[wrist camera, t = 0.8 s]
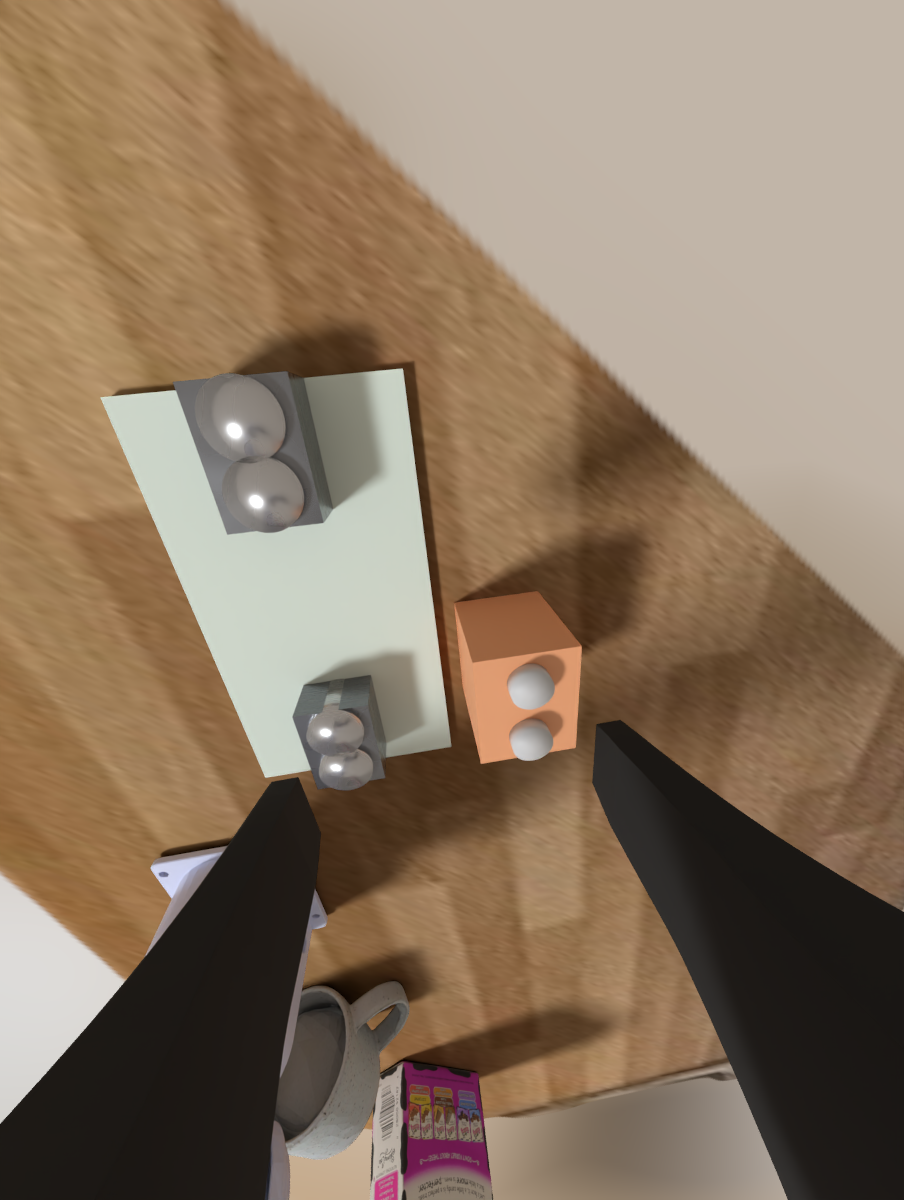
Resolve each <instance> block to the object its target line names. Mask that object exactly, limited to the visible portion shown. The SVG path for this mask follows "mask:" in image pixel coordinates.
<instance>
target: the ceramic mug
mask: <svg viewBox="0 0 904 1200" xmlns="http://www.w3.org/2000/svg"><path fill="white" fill-rule="evenodd" d="M394 1004H396V1005H395V1007H394V1008H393V1009H392V1011H391V1012H390V1013H389V1014H388V1016H387V1017H386V1018H385V1019H384V1020H383V1021H382V1022H381V1023H380V1024H379V1025H378V1026H377V1027H376V1028H375V1029H374V1030H371V1029H370V1027H369V1026H368V1024H367V1023H366V1022H367V1021H369V1020H370V1019H371V1018H373V1017H374V1016H375V1015H376V1014H377V1013H379V1012H381V1011H382V1010H384V1009H386V1008H388V1007H389V1006H391V1005H394ZM408 1015H409V1003H408V1000H407V997H406V994H405V991H404V989H403V987H402V985H401V984H400V983H399V982H396V981H390V982H386V983H382V984H380V985H378V986H376V987H374V988H373V989H371V990H370V991H368V992H367V993H365V994H364V995H363V996H361V997H360V998H359V999H357V1000H356V1001H355V1002H354V1003H353V1004H351V1005H350V1004H349V1003H348V1002H347V1001H346V1000H345V999H344V997H343V996H341V995H340V994H339V993H338V992H337V991H335V990H334V989H332V988H330V987H327V986H313V987H310V988H307V989H304V990H302V993H301V999H300V1004H299V1010H298V1016H297V1022H296V1028H295V1034H294V1040H293V1045H292V1049H291V1052H290V1056H289V1059H288V1062H287V1064H286V1066H285V1069H284V1071H283V1074H282V1076H281V1078H280V1079H279V1086H278V1094H277V1102H276V1109H275V1117H274V1121H276V1122H278V1123H279V1124H280V1126H281V1127H282V1130H283V1134H284V1138H285V1144H286V1147H287V1151H288V1155H293V1156H299V1157H305V1158H310V1159H327V1158H329V1157H332V1156H334V1155H336V1154H338V1153H340V1152H342V1151H344V1150H345V1149H347V1147H349V1146H350V1145H351V1144H352V1143H353V1141H355V1140H356V1138H357V1137H358V1136H359V1135H360V1133H361V1132H362V1130H363V1129H364V1127H365V1125H366V1123H367V1121H368V1119H369V1117H370V1115H371V1113H372V1110H373V1108H374V1104H375V1101H376V1097H377V1092H378V1087H379V1080H380V1058H379V1055H380V1052H381V1051H382V1050H383V1049H384V1048H385V1047H386V1046H387V1045H388V1044H389V1043H390V1042H391V1041H392V1039H394V1038H395V1037H396V1035H397V1034H398V1033H399V1032H400V1030H401V1029H402V1028H403V1026H404V1024H405V1022H406V1020H407V1018H408Z"/></svg>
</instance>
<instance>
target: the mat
mask: <svg viewBox="0 0 904 1200" xmlns="http://www.w3.org/2000/svg"><path fill="white" fill-rule="evenodd" d="M304 382H305V386H306V391H307V395H308V399H309V404H310V408H311V413H312V417H313V422H314V426H315V430H316V435H317V439H318V444H319V448H320V452H321V457H322V461H323V466H324V470H325V474H326V479H327V483H328V488H329V492H330V496H331V501H332V505H333V511H332V512H331V513H330V515H329V516H328V518H327V519H326V521H325V522H324V523H320V524H312V525H303V526H295V527H288V528H287V529H285V530H282V531H279V532H275V533H263V532H258V531H254V532H246V533H238V534H230V535H227V533H226V530H225V527H224V524H223V521H222V519H221V516H220V513H219V510H218V507H217V505H216V502H215V499H214V496H213V493H212V491H211V488H210V485H209V482H208V479H207V477H206V474H205V471H204V468H203V465H202V463H201V460H200V457H199V454H198V451H197V449H196V446H195V443H194V440H193V437H192V435H191V432H190V429H189V426H188V423H187V420H186V418H185V415H184V412H183V409H182V406H181V404H180V401H179V398H178V395H177V392H176V390H173V391H162V392H152V393H141V394H131V395H120V396H110V397H100V398H101V400H102V402H103V404H104V407H105V409H106V411H107V414H108V416H109V418H110V421H111V423H112V425H113V428H114V430H115V432H116V434H117V437H118V439H119V441H120V444H121V446H122V448H123V451H124V453H125V455H126V457H127V460H128V462H129V464H130V467H131V469H132V471H133V474H134V476H135V478H136V481H137V483H138V485H139V487H140V490H141V492H142V494H143V497H144V499H145V501H146V504H147V506H148V508H149V510H150V513H151V515H152V517H153V520H154V522H155V524H156V527H157V529H158V531H159V533H160V536H161V538H162V540H163V543H164V545H165V547H166V550H167V552H168V554H169V557H170V559H171V561H172V563H173V566H174V568H175V570H176V573H177V575H178V577H179V580H180V582H181V584H182V586H183V589H184V591H185V593H186V596H187V598H188V600H189V603H190V605H191V607H192V610H193V612H194V614H195V616H196V619H197V621H198V623H199V626H200V628H201V630H202V633H203V635H204V637H205V639H206V642H207V644H208V646H209V649H210V651H211V653H212V656H213V658H214V660H215V662H216V665H217V667H218V669H219V672H220V674H221V676H222V679H223V681H224V683H225V686H226V688H227V690H228V692H229V695H230V697H231V699H232V702H233V704H234V706H235V709H236V711H237V713H238V715H239V718H240V720H241V722H242V725H243V727H244V729H245V732H246V734H247V736H248V739H249V741H250V743H251V745H252V748H253V750H254V752H255V755H256V757H257V759H258V762H259V764H260V766H261V768H262V771H263V773H264V775H265V778H267V777H273V776H279V775H285V774H291V773H297V772H303V771H309V770H311V768H310V766H309V763H308V760H307V757H306V754H305V752H304V749H303V746H302V743H301V740H300V738H299V735H298V732H297V729H296V726H295V723H294V721H293V718H292V716H293V713H294V711H295V708H296V705H297V702H298V699H299V697H300V694H301V691H302V688H303V685H307V684H314V683H320V682H327V681H332V680H335V679H347V678H353V677H360V676H367V675H371V677H372V681H373V686H374V690H375V695H376V699H377V703H378V708H379V712H380V717H381V721H382V725H383V730H384V734H385V739H386V743H387V746H386V758H387V757H393V756H399V755H405V754H411V753H417V752H423V751H429V750H435V749H441V748H447V747H451V739H450V731H449V724H448V716H447V708H446V700H445V692H444V685H443V677H442V669H441V661H440V654H439V646H438V638H437V630H436V623H435V615H434V607H433V599H432V591H431V584H430V576H429V568H428V560H427V553H426V545H425V537H424V529H423V522H422V514H421V506H420V498H419V491H418V483H417V475H416V467H415V459H414V452H413V444H412V436H411V428H410V421H409V413H408V405H407V397H406V390H405V382H404V374H403V369H392V370H382V371H371V372H361V373H350V374H340V375H329V376H319V377H309V378H304Z"/></svg>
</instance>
